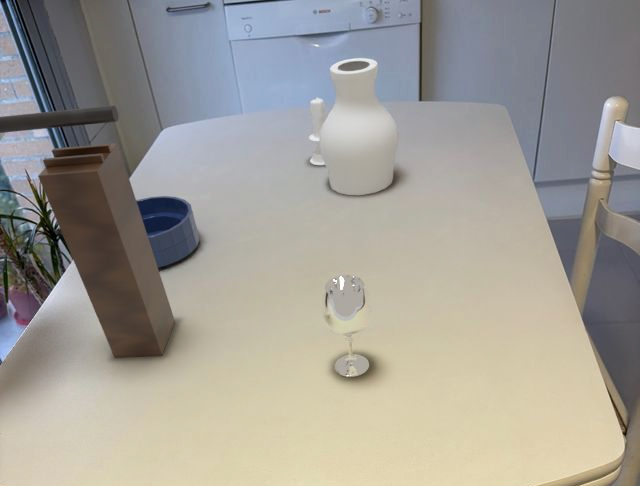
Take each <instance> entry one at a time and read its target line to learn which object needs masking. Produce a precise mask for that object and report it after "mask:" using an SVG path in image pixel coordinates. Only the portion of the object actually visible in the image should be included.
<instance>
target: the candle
mask: <svg viewBox="0 0 640 486" xmlns="http://www.w3.org/2000/svg"><path fill="white" fill-rule="evenodd" d="M309 106H310V107H309V108H310V111H309V112H310V115H311V121H312V129H313V133H312V134H310V135H308V136H309V137H308V139H309V140H310V141H312V142H314V143H316V146H315V150H314V151H313V153H312V157H311V158H310V160H309V163H310V164H311V165H314V166H325V163H324V160H323V157H322V154H321V150H320V144H319V136H320V131H321V128H322V126H323V123H324V122H325V120H326V118H327V112H326V106H325V101H324V99H322V98H320V97H316V98H315V99H312V100H310V103H309Z"/></svg>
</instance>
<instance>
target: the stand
mask: <svg viewBox="0 0 640 486" xmlns="http://www.w3.org/2000/svg"><path fill="white" fill-rule="evenodd" d="M120 149H121V148H120V147H119V143H118V142H113V143H102V144H101V143H100V144H89V145H80V146H79V145H77V146H68V147H58V148H52V149H51V153H52V156H53V157H46V158H44V159H42V163H43V165H44V169H43V170H42V171H41V172H40V173H39V174H38V176H37V178H38V179H39V182H40V184H41V187H42V189H43V192H44V193H45V196H46V198H47V201H48V203H49V206H50V208H51V210H52V213H53V215H54V218H55V220H56V222H57V224H58V227H59V229H60V232H61V234H62V236H63V239H64V241H65V245H66V246H67V248H68V250H69V253H70V255H71V258H72V260H73V262H74V265H75V268H76V269H77V272H78V274H79V277H80V279H81V282H82V284H83V286H84V289H85V291H86V293H87V296H88V298H89V299H90V303H91V305H92V308H93V310H94V313H95V314H96V317H97V319H98V322H99V324H100V327H101V329H102V331H103V334H104V336H105V339H106V341H107V343H108V346H109V348H110V350H111V352H112V355H113V358H132V357H133V358H134V357H135V358H136V357H156V356H163V354H164V351H165V350H166V346H167V344H168V342H169V338H170V337H171V334H172V331H173V328H174V327H175V326H174V325H175V323H176V320H175V317H174V314H173V311H172V307H171V304H170V301H169V298H168V295H167V291H166V289H165V286H164V283H163V280H162V277H161V273H160V271H159V267H157V264H156V261H155V258H154V254H153V251H152V248H151V245H150V242H149V239H148V236H147V233H146V230H145V226H144V223H143V220H142V217H141V214H140V211H139V208H138V205H137V202H136V200H137V198H136V196H135V193H134V189H133V186H132V184H131V179H130V177H129V174H128V171H127V168H126V165H125V161H124V158H123V155H122V152H121V150H120Z"/></svg>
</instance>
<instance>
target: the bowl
mask: <svg viewBox="0 0 640 486" xmlns="http://www.w3.org/2000/svg"><path fill="white" fill-rule="evenodd" d="M136 202H137V205H138V208H139V211H140V214H141V217H142V220H143V223H144V226H145V230H146V233H147V236H148V239H149V242H150V245H151V248H152V251H153V254H154V258H155V261H156V264H157V267H158V268H162V267H166V266H168V265H169V266H170V265H172V264H174V263H176V262H179V261H181V260H182V259H184V258H186V257H187V256H189V255H191V253H192V252H193V251H194V250H195V249H196V248H197V247H198V245H199V242H200V239H201V238H200V235H199V231H198V227H197V223H196V219H195V216H194V211H193V207H192V204H191V203H190V202H188V200H186V199H184V198H181V197H177V196H169V195H168V196H167V195H158V196H150V197H145V198H141V199H136Z"/></svg>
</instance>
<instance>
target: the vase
mask: <svg viewBox="0 0 640 486" xmlns="http://www.w3.org/2000/svg"><path fill="white" fill-rule="evenodd" d="M378 72H379V63H378V62H377V61H376V59H372V58H367V57H366V58H365V57H357V58H355V57H354V58H348V59H344V60H340V61H337V62H335V63H334V64H332V65H331V66H330V67H329V75H330V79H331V82H332V84H333V87H334V89H335V95H336V96H335V101H334V105H333V107H332V109H331V110H330V112H329V114H328V115H327V116H326V119H325V122H324V123H323V126H322V128H321V131H320V136H319V144H320V150H321V154H322V157H323V160H324V163H325V165H324V166H325V168H326V172H327V175H328V179H329V180H328V181H329V186H330V188H331V189H332V190H333V191H334V192H336V193H338V194H342V195H347V196H364V195H365V196H366V195H370V194H375V193H378V192H379V191H382V190H385V189H386V188H388V187H389V186H390V185H391V184H392V183H393V180H394V169H395V168H394V167H395V162H396V156H397V151H398V146H399V130H398V126H397V124H396V121H395V119H394V118H393V116H392V115H391V114H390V112H389V111H388V110H387V109H386V108H385V106H383V104H382V103H381V102H380V101H379V99H378V97H377V95H376V91H375V89H376V88H375V85H376V81H377V77H378Z"/></svg>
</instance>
